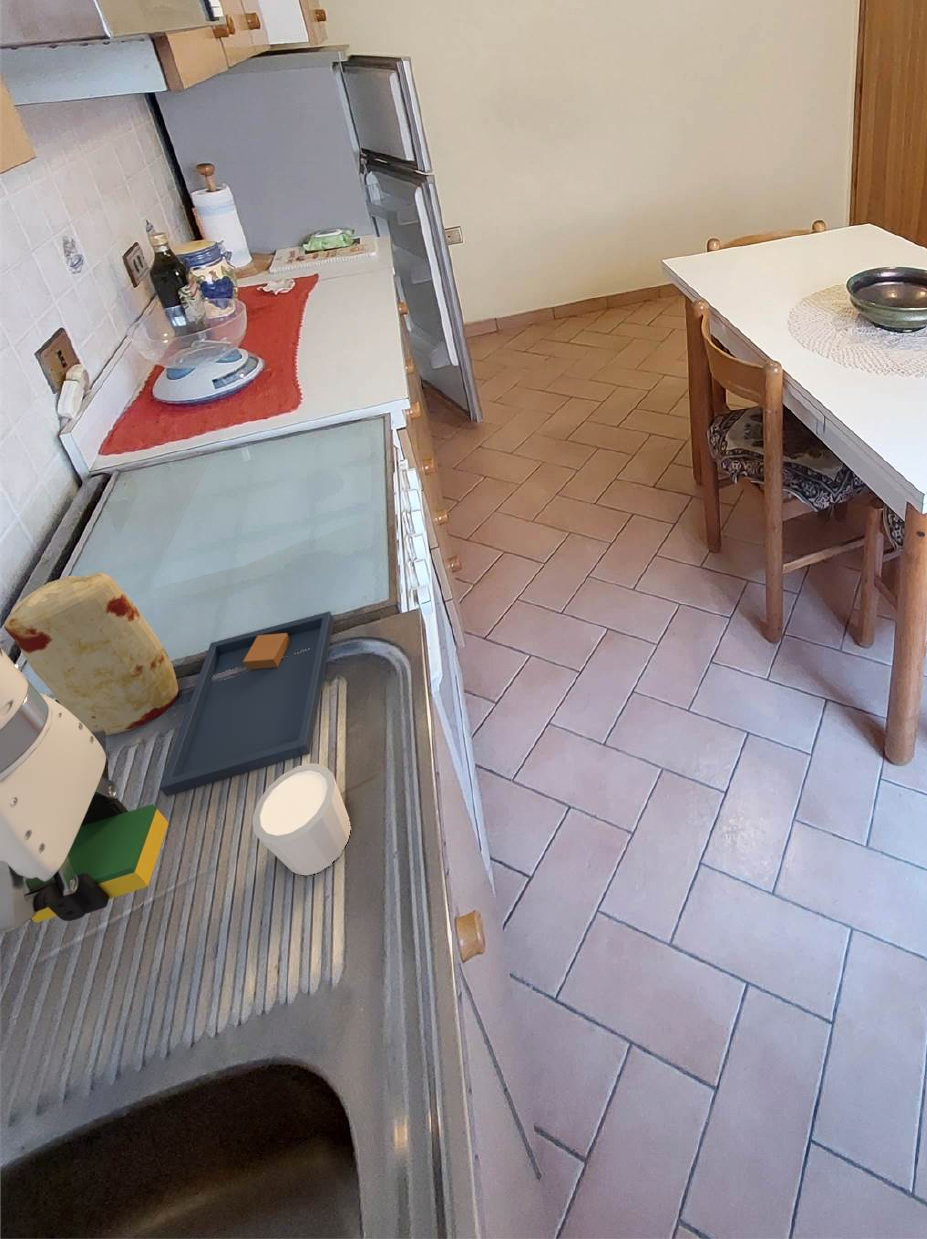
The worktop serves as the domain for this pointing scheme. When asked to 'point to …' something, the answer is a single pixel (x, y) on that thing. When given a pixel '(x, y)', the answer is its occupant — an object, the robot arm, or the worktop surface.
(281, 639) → the orange flat block
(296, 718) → the tray
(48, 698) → the robot arm
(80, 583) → the food model
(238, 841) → the worktop surface
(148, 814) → the sponge
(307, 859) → the white cylinder
